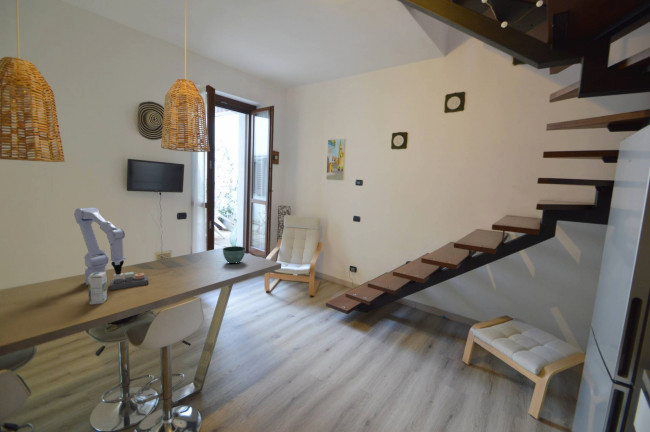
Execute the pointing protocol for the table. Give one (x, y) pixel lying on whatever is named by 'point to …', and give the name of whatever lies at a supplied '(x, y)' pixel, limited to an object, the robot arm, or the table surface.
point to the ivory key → (118, 278)
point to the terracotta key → (139, 276)
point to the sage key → (129, 276)
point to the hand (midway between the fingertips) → (118, 274)
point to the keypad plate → (128, 283)
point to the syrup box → (97, 288)
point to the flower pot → (233, 254)
